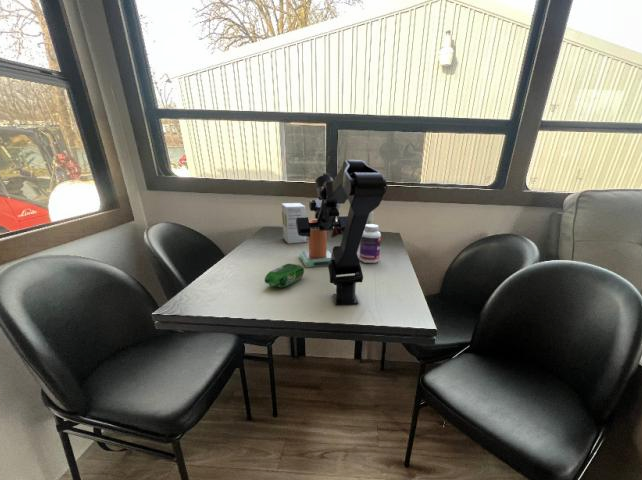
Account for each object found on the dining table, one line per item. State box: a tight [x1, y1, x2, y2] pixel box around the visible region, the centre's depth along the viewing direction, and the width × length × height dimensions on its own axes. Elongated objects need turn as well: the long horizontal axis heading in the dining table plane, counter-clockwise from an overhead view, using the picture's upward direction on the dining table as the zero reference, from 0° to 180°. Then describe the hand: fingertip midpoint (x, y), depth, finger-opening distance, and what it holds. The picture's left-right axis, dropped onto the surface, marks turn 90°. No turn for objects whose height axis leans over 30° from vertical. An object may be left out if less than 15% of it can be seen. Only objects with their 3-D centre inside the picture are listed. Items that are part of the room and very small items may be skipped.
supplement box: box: [281, 202, 308, 244], centre depth 139 cm, size 10×9×17 cm
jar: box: [308, 218, 328, 257], centre depth 114 cm, size 7×7×13 cm
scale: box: [299, 249, 332, 268], centre depth 118 cm, size 12×12×3 cm
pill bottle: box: [359, 224, 382, 264], centre depth 118 cm, size 8×8×14 cm
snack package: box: [264, 263, 305, 288], centre depth 97 cm, size 7×16×5 cm, turn 153°
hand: (320, 237), depth 110 cm, fingers open, 9 cm apart
